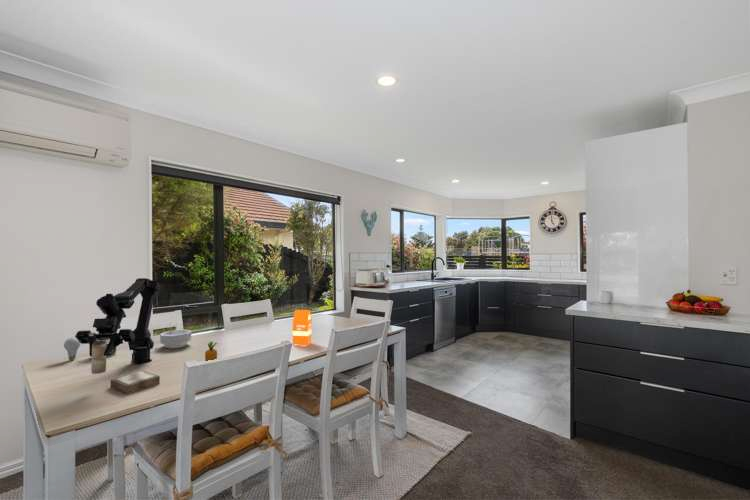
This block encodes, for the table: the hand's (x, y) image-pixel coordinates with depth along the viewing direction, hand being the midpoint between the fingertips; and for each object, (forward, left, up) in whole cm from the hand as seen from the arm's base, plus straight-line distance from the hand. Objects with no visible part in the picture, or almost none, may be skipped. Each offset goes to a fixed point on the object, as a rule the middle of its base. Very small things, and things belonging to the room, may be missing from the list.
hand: (97, 355), depth 133 cm
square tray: (-10, +7, -13) cm, 18 cm away
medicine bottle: (-22, -47, -14) cm, 54 cm away
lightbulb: (-11, -52, -14) cm, 55 cm away
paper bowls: (-51, -34, -14) cm, 63 cm away
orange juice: (-91, +23, -14) cm, 95 cm away
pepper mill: (-1, -1, -7) cm, 7 cm away
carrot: (-32, +23, -14) cm, 42 cm away
